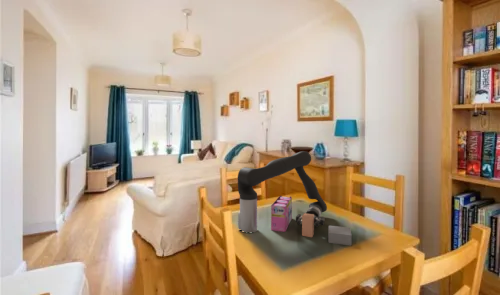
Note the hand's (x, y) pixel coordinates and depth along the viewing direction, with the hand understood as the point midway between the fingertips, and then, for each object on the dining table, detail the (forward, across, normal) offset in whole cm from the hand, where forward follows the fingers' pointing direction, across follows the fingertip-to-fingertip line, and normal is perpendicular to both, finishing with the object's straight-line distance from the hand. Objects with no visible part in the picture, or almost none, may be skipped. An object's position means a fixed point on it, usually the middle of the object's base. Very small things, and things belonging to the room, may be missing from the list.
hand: (307, 223), depth 123 cm
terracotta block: (-2, 0, +6) cm, 6 cm away
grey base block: (-2, +15, +6) cm, 16 cm away
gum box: (-11, -16, +6) cm, 21 cm away
